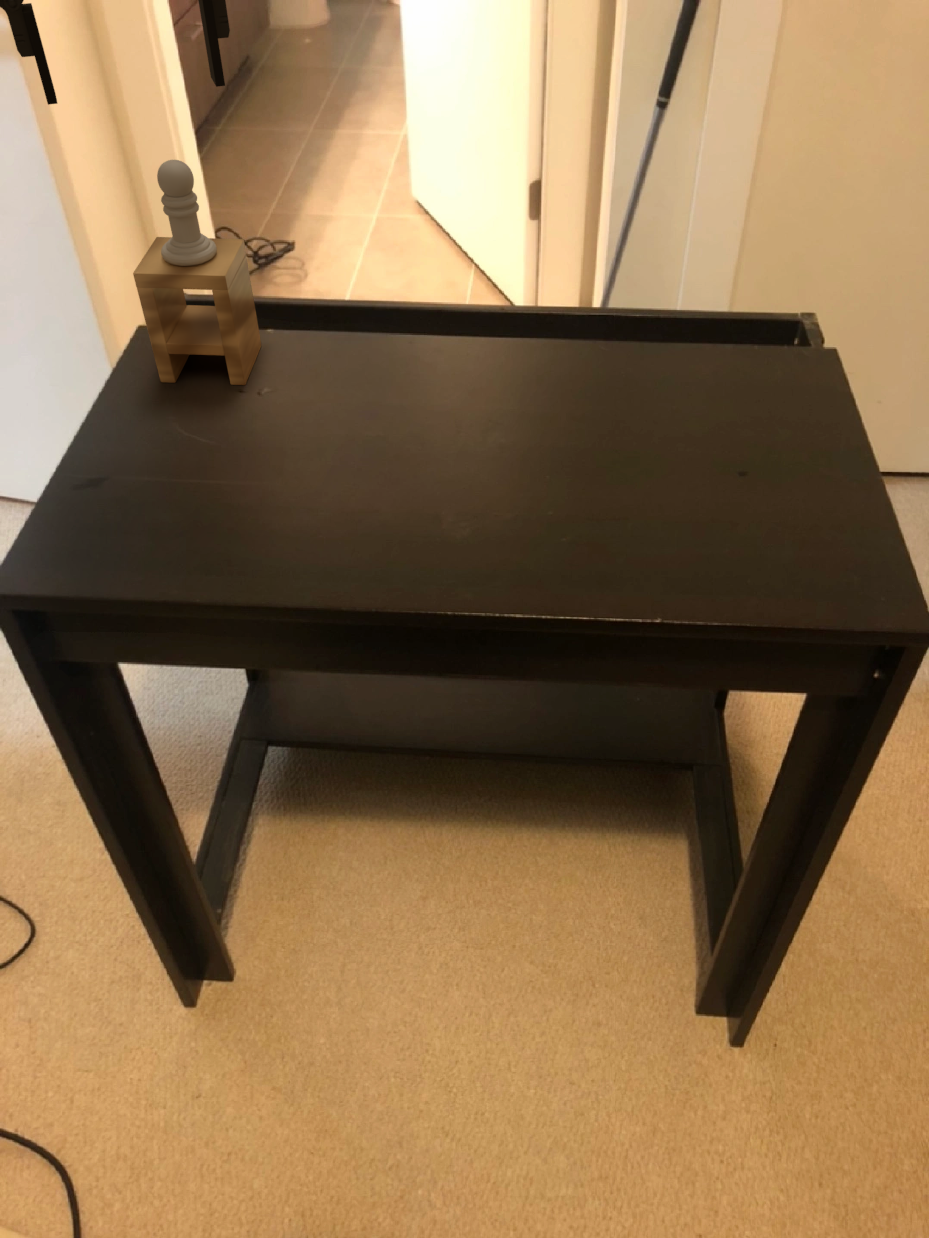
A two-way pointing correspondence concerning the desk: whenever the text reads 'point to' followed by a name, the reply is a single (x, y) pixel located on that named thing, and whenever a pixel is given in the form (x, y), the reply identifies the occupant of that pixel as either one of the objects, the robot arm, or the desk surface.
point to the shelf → (200, 310)
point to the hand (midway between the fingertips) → (136, 90)
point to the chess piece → (182, 217)
